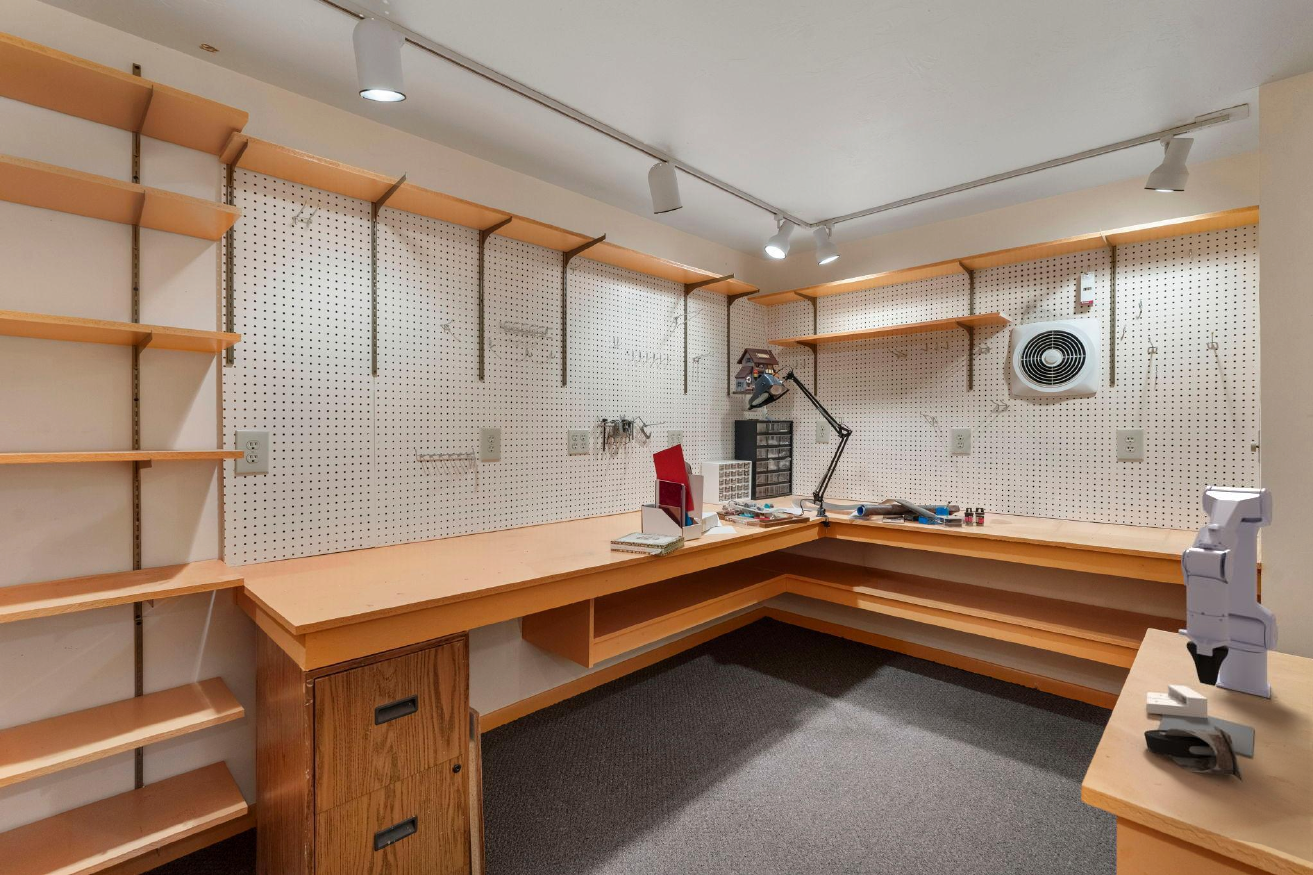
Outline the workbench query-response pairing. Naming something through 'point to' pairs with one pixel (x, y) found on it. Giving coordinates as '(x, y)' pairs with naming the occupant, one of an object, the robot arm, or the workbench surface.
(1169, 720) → the rubber mat
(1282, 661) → the workbench surface
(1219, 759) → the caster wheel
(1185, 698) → the white angled block
